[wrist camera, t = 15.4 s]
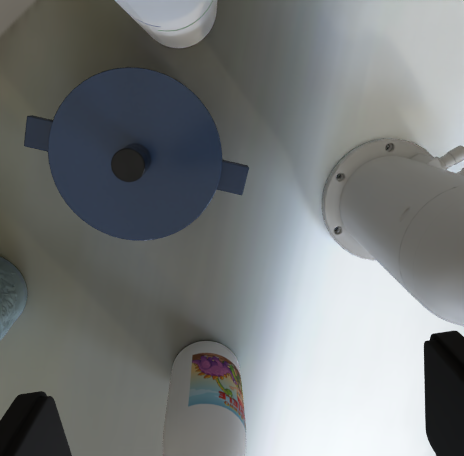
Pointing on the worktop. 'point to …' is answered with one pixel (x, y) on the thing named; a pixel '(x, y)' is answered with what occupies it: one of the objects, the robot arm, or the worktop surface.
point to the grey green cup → (10, 295)
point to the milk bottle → (205, 403)
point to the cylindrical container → (173, 19)
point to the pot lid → (135, 153)
